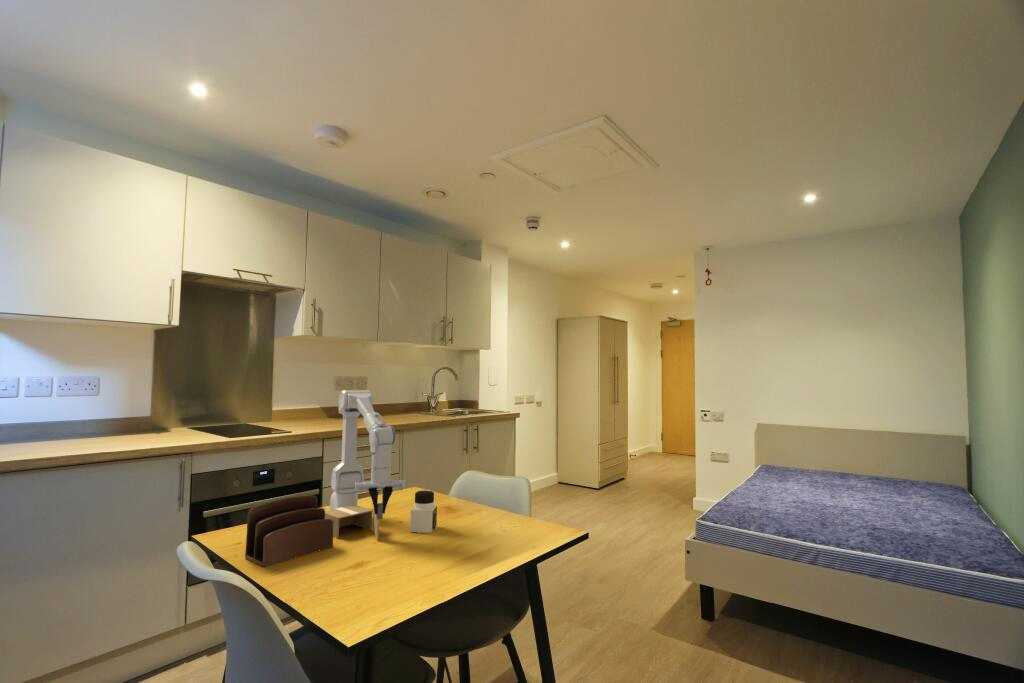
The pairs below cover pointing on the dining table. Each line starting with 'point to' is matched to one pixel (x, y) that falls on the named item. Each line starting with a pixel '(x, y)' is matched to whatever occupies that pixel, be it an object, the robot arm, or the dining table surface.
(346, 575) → the dining table surface
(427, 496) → the medicine bottle
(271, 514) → the letter holder
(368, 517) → the carton
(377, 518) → the side flap
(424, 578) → the dining table surface
